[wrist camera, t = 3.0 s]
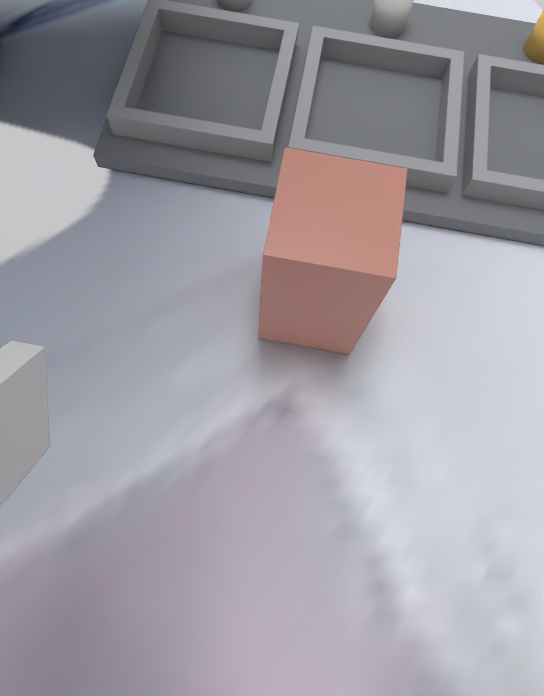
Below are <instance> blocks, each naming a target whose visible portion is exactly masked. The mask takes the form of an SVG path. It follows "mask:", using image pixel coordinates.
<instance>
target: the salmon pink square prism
mask: <svg viewBox="0 0 544 696" xmlns="http://www.w3.org/2000/svg"><path fill="white" fill-rule="evenodd" d="M406 177H407V168H401V167H395V166H389V165H384V164H378V163H372V162H367V161H361V160H355V159H349V158H344V157H338V156H332V155H326V154H321V153H315V152H309V151H304V150H298V149H292V148H286V147H285V150H284V155H283V160H282V165H281V169H280V174H279V179H278V184H277V189H276V194H275V198H274V203H273V208H272V213H271V218H270V223H269V228H268V232H267V237H266V242H265V247H264V252H263V262H262V280H261V299H260V317H259V335H258V338H260V339H265V340H271V341H277V342H282V343H288V344H293V345H299V346H304V347H310V348H315V349H321V350H326V351H332V352H337V353H343V354H348V355H349V354H350V353H351V351H352V349H353V348H354V346H355V344H356V343H357V341H358V340H359V338H360V336H361V335H362V333H363V331H364V330H365V328H366V327H367V325H368V323H369V322H370V320H371V318H372V317H373V315H374V314H375V312H376V310H377V309H378V307H379V305H380V304H381V302H382V300H383V299H384V297H385V296H386V294H387V292H388V291H389V289H390V287H391V286H392V284H393V283H394V281H395V279H396V275H397V265H398V255H399V246H400V236H401V226H402V216H403V207H404V197H405V187H406Z"/></svg>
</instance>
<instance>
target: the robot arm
mask: <svg viewBox="0 0 544 696" xmlns="http://www.w3.org/2000/svg"><path fill="white" fill-rule="evenodd" d="M49 447H50V438H49V417H48V397H47V377H46V357H45V347H44V346H39V345H33V344H28V343H22V342H17V341H12V340H11V341H10V342H8V343H7V344H6V345H4V346H3V347H1V348H0V507H1V506H2V504H3V503H4V502H5V501H6V500H7V498H8V497H9V496H10V495H11V493H12V492H13V491H14V490H15V489H16V487H17V486H18V485H19V484H20V482H21V481H22V480H23V479H24V478H25V476H26V475H27V474H28V473H29V471H30V470H31V469H32V468H33V467H34V465H35V464H36V463H37V462H38V460H39V459H40V458H41V457H42V456H43V454H44V453H45V452H46V451H47V450H48V448H49Z"/></svg>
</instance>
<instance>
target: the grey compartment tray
mask: <svg viewBox="0 0 544 696" xmlns="http://www.w3.org/2000/svg"><path fill="white" fill-rule="evenodd" d="M106 116H107V119H106V122H105V125H104V127H103V130H102V133H101V136H100V138H99V141H98V144H97V147H96V149H95V152H94V155H93V156H94V158H95V160H96V163H97V165H98V167H103V168H108V169H114V170H119V171H125V172H131V173H136V174H142V175H148V176H153V177H159V178H165V179H170V180H176V181H182V182H187V183H193V184H199V185H204V186H210V187H216V188H221V189H227V190H233V191H238V192H244V193H250V194H255V195H261V196H267V197H272V198H275V194H276V189H277V184H278V179H279V174H280V169H281V165H282V160H283V155H284V150H285V147H286V148H292V149H298V150H304V151H309V152H315V153H321V154H326V155H332V156H338V157H344V158H349V159H355V160H361V161H367V162H372V163H378V164H384V165H389V166H395V167H401V168H407V177H406V187H405V197H404V207H403V216H402V221H408V222H414V223H419V224H425V225H431V226H436V227H442V228H448V229H453V230H459V231H465V232H470V233H476V234H482V235H487V236H493V237H499V238H504V239H510V240H516V241H521V242H527V243H533V244H538V245H544V11H543V12H542V14H541V16H540V18H539V19H538V21H537V23H536V24H535V23H529V22H523V21H518V20H512V19H506V18H500V17H494V16H488V15H482V14H476V13H471V12H465V11H459V10H453V9H447V8H441V7H435V6H430V5H424V4H418V3H413V0H148V2H147V5H146V8H145V11H144V13H143V16H142V19H141V22H140V24H139V27H138V30H137V32H136V35H135V38H134V41H133V43H132V46H131V49H130V52H129V54H128V57H127V60H126V63H125V65H124V68H123V71H122V74H121V76H120V79H119V82H118V85H117V87H116V90H115V93H114V95H113V98H112V101H111V104H110V106H109V109H108V112H107V115H106Z"/></svg>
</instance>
